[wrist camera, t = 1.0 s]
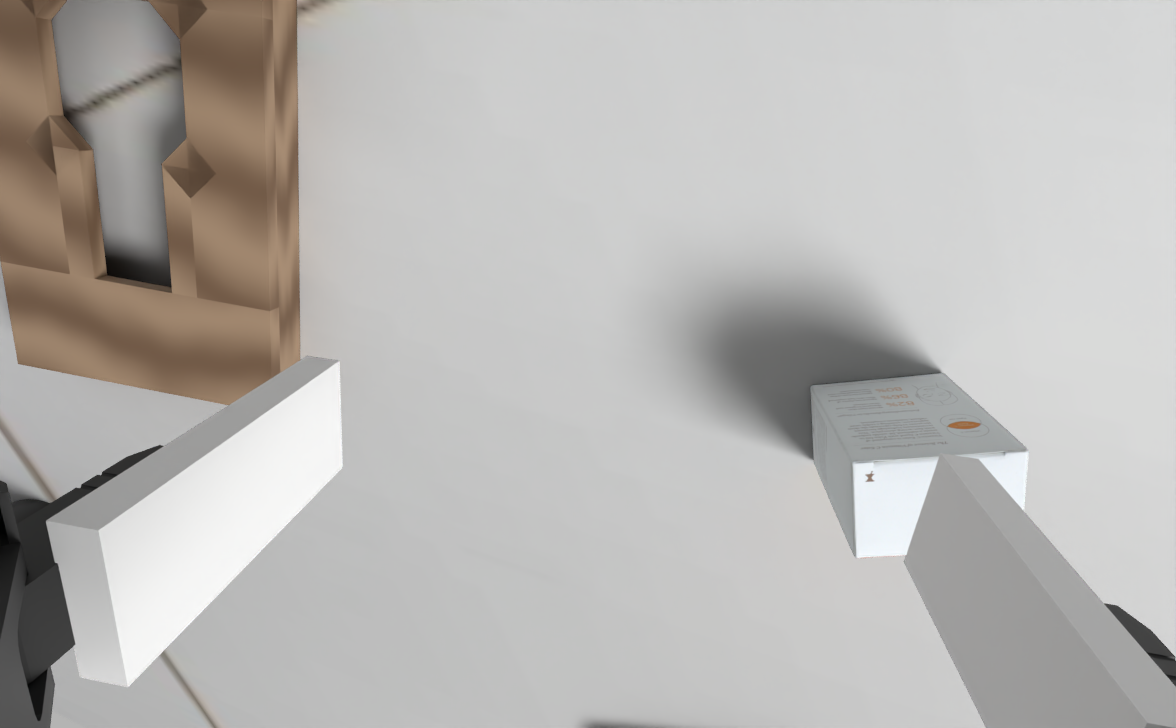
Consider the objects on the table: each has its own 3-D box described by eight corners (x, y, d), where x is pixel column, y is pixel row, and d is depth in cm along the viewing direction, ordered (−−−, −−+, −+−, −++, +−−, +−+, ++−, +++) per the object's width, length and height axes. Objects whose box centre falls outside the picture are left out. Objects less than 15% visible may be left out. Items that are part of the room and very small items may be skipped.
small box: (811, 462, 43) (850, 561, 33) (808, 382, 41) (848, 462, 32) (944, 453, 42) (1025, 554, 32) (946, 370, 40) (1032, 450, 30)
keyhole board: (-5, -112, 38) (-68, -133, 35) (295, -70, 37) (259, -88, 33) (62, 347, 48) (18, 363, 45) (300, 393, 46) (272, 413, 43)
